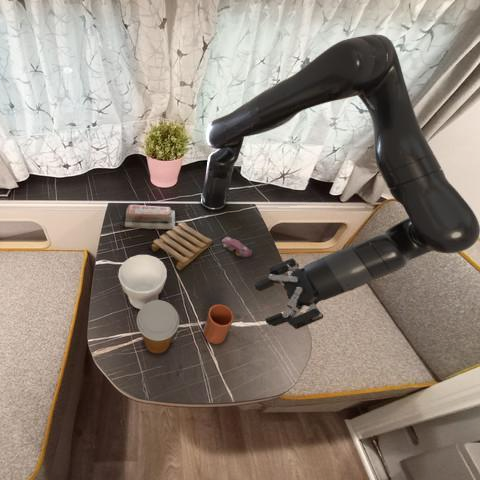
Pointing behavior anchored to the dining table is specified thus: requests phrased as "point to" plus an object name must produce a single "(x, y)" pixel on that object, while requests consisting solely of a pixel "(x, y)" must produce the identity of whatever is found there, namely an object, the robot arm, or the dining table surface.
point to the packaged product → (150, 217)
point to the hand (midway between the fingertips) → (261, 304)
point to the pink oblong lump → (236, 247)
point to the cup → (142, 279)
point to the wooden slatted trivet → (174, 235)
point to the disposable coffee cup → (157, 324)
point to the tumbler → (218, 323)
